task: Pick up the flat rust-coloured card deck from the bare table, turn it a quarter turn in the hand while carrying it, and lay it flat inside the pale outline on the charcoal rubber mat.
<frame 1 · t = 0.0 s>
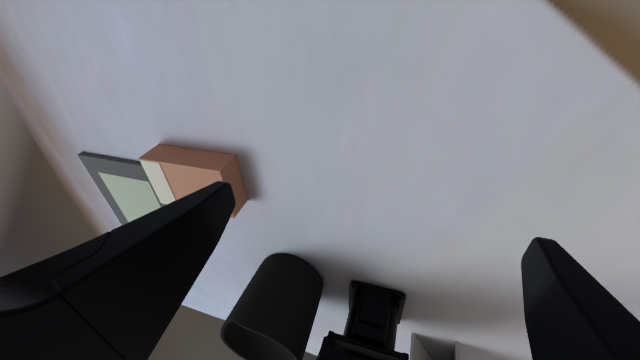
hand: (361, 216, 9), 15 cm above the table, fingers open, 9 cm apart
mat: (145, 207, 41), on the table
pen holder: (293, 272, 40), on the table
deck: (205, 170, 33), on the table
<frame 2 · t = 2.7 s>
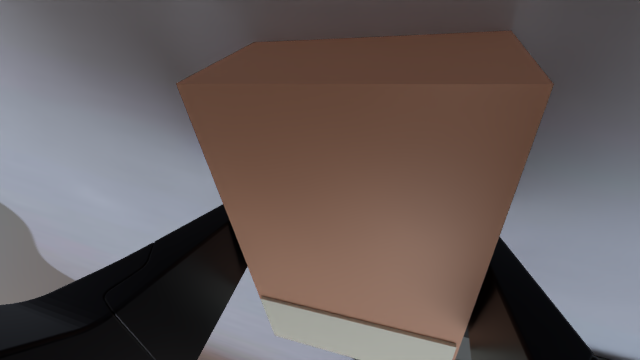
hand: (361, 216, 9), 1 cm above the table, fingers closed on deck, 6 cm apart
deck: (368, 191, 10), on the table, touching gripper
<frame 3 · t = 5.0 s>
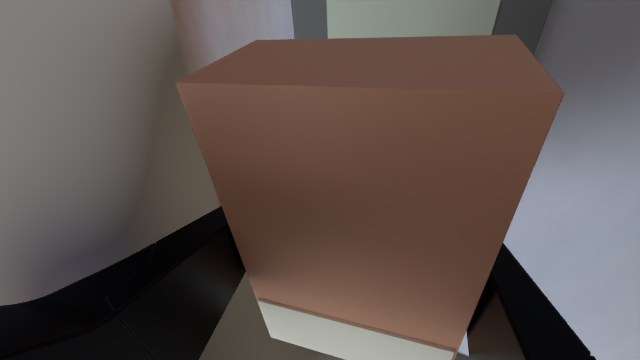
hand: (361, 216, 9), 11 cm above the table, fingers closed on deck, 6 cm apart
mat: (398, 90, 18), on the table
deck: (367, 194, 10), point 10 cm above the table, touching gripper
when the fingers open (3 cm above the table, at t = 6.9 s): deck drops 1 cm, resting on mat.
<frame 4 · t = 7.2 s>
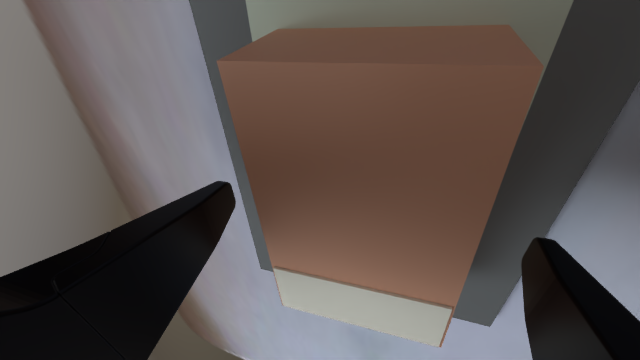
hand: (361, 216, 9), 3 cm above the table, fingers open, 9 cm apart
mat: (376, 162, 11), on the table
deck: (374, 172, 11), point 1 cm above the table, touching mat
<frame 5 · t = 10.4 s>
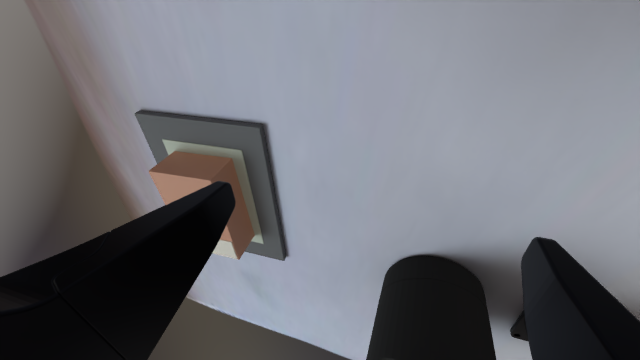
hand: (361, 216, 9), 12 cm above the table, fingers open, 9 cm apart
mat: (220, 191, 30), on the table
pen holder: (431, 282, 28), on the table
deck: (217, 196, 29), point 1 cm above the table, touching mat
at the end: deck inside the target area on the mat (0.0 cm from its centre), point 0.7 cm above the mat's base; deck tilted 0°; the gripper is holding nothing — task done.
